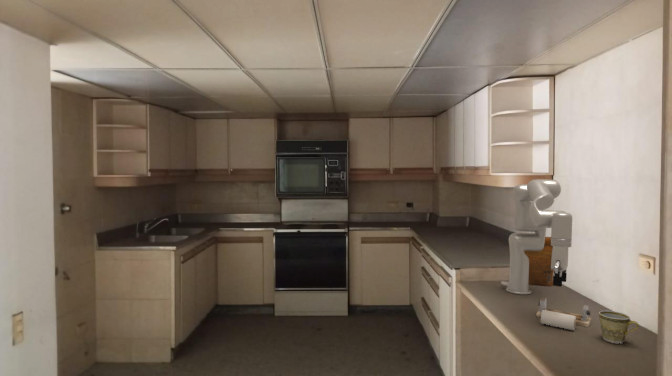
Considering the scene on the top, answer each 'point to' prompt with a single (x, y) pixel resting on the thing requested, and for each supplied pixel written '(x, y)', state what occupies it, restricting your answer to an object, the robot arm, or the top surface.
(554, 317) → the paper roll
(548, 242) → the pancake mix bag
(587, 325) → the roll cradle
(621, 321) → the ceramic cup
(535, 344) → the top surface
